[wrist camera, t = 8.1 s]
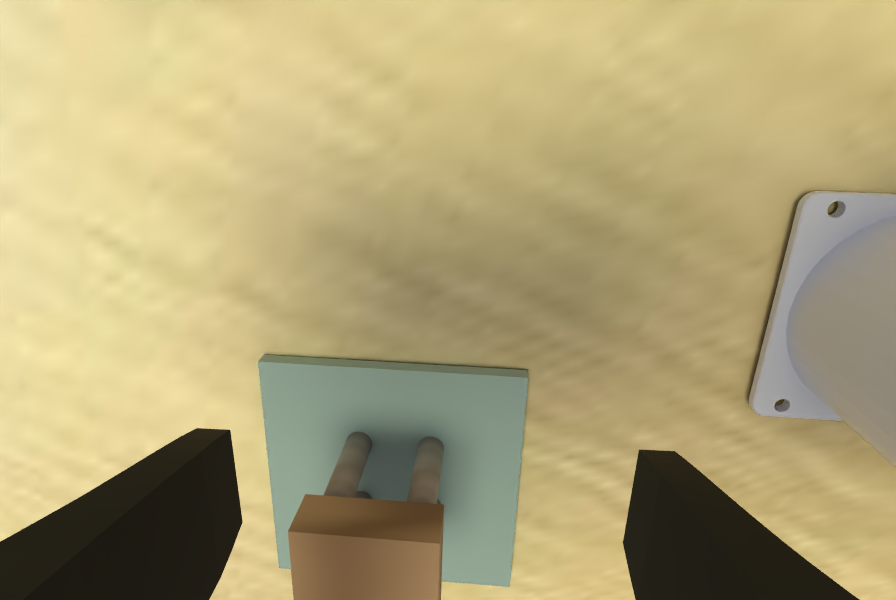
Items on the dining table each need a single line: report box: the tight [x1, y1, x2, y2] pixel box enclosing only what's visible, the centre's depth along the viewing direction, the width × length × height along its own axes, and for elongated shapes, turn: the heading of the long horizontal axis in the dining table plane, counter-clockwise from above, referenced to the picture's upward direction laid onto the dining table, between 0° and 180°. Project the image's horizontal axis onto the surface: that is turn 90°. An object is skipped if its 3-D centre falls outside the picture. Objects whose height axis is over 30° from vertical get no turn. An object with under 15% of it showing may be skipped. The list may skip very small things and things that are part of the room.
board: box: [258, 355, 528, 587], centre depth 22 cm, size 10×10×1 cm
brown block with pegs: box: [288, 432, 444, 600], centre depth 19 cm, size 4×4×6 cm
